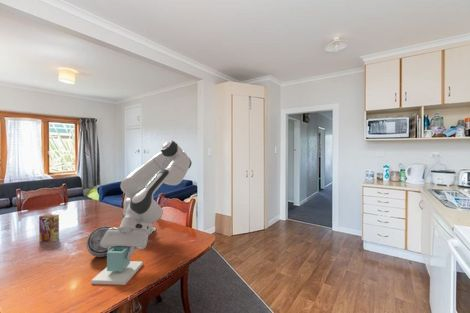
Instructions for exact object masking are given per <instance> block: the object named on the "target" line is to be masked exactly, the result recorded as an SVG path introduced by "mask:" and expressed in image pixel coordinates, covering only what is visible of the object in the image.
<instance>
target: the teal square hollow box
mask: <svg viewBox="0 0 470 313" xmlns="http://www.w3.org/2000/svg"><path fill="white" fill-rule="evenodd" d="M130 250H131V249H130V247H127V246H115V247H114V248H112V249H111V250H110V251H108V252H107V256H106V267H107V271H123V270H124V269H125V268H126V267H127V266H128V265H129V264H130V261H131V257H130V258H129V259H126V258H125V256H126V253H129V252H130Z"/></svg>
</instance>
